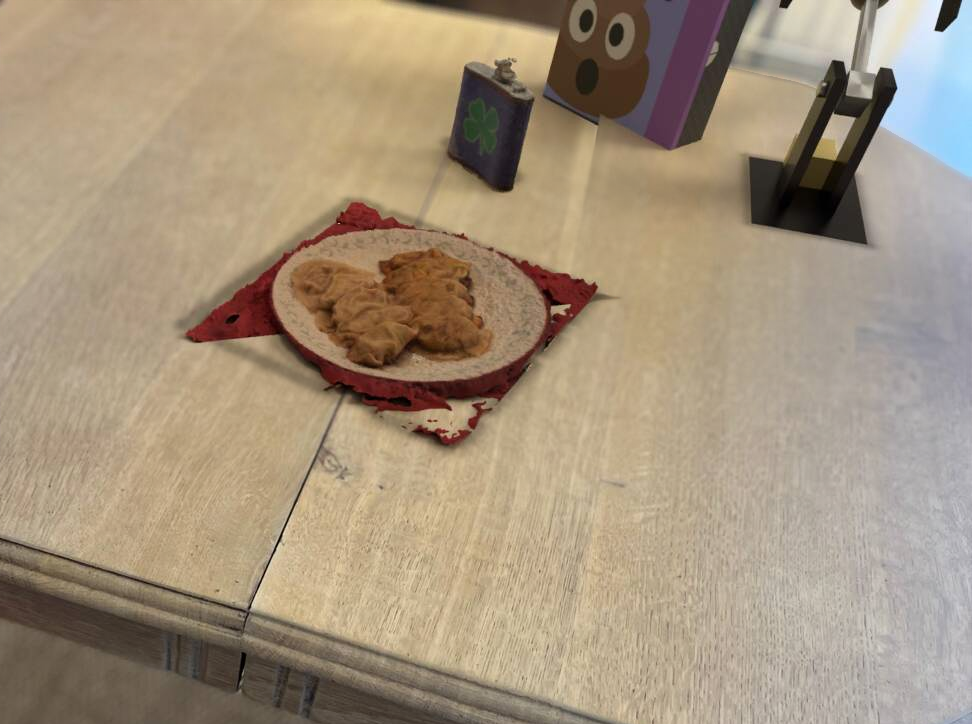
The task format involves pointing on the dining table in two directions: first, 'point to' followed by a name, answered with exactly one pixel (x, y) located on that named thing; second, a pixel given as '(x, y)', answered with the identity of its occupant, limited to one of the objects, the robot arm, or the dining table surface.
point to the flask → (491, 123)
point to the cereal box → (646, 63)
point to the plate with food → (404, 312)
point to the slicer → (838, 198)
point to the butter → (817, 163)
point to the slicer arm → (860, 63)
